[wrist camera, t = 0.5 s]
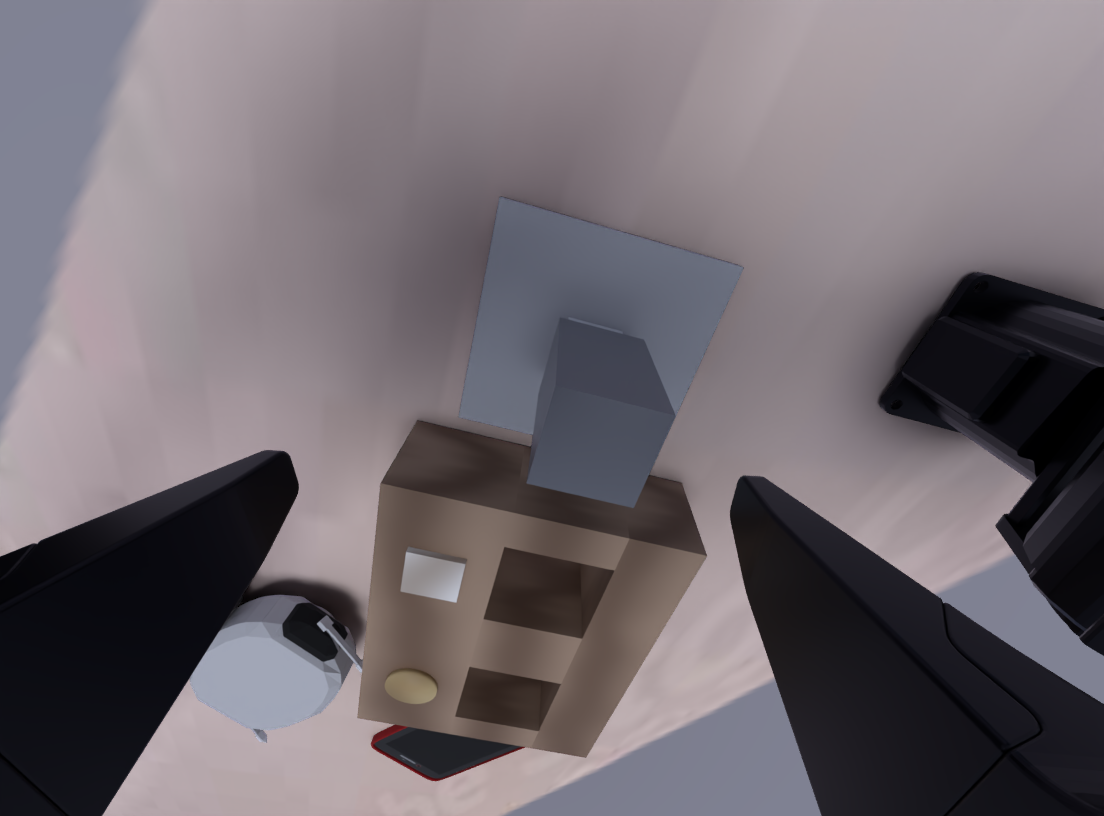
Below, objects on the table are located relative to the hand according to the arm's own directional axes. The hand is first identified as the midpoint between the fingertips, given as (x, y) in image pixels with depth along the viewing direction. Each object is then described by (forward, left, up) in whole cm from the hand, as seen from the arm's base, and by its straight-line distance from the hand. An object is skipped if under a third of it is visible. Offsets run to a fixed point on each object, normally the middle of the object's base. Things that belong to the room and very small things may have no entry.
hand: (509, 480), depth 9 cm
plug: (-2, +1, -12) cm, 12 cm away
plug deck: (-2, +1, -12) cm, 12 cm away
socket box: (-2, +16, -12) cm, 20 cm away
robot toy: (+14, +24, -13) cm, 30 cm away
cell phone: (-2, +35, -13) cm, 37 cm away
